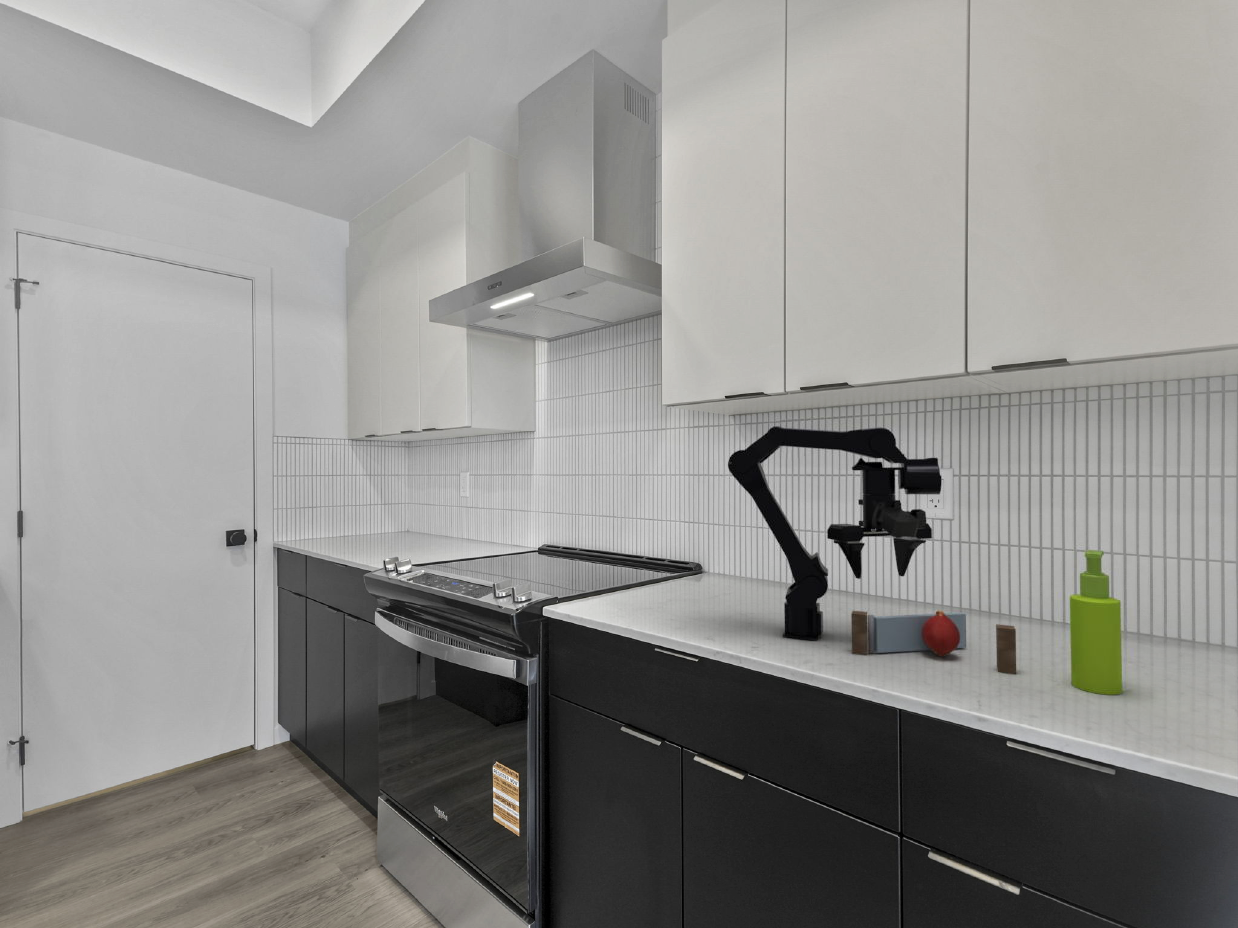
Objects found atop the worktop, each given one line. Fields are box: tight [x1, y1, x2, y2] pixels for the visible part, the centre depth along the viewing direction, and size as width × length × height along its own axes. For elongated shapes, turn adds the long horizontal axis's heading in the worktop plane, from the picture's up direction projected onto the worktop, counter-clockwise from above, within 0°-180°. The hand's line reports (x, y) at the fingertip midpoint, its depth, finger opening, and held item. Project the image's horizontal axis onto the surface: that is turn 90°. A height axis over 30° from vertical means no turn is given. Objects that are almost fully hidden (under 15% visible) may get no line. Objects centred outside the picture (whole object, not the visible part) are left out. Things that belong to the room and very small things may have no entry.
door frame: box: [850, 610, 1017, 675], centre depth 101 cm, size 24×3×7 cm, turn 63°
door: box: [867, 611, 967, 654], centre depth 107 cm, size 18×1×6 cm, turn 98°
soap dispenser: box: [1069, 549, 1123, 696], centre depth 89 cm, size 6×7×20 cm
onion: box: [922, 609, 960, 658], centre depth 104 cm, size 6×6×8 cm
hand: (880, 577), depth 113 cm, fingers open, 9 cm apart
